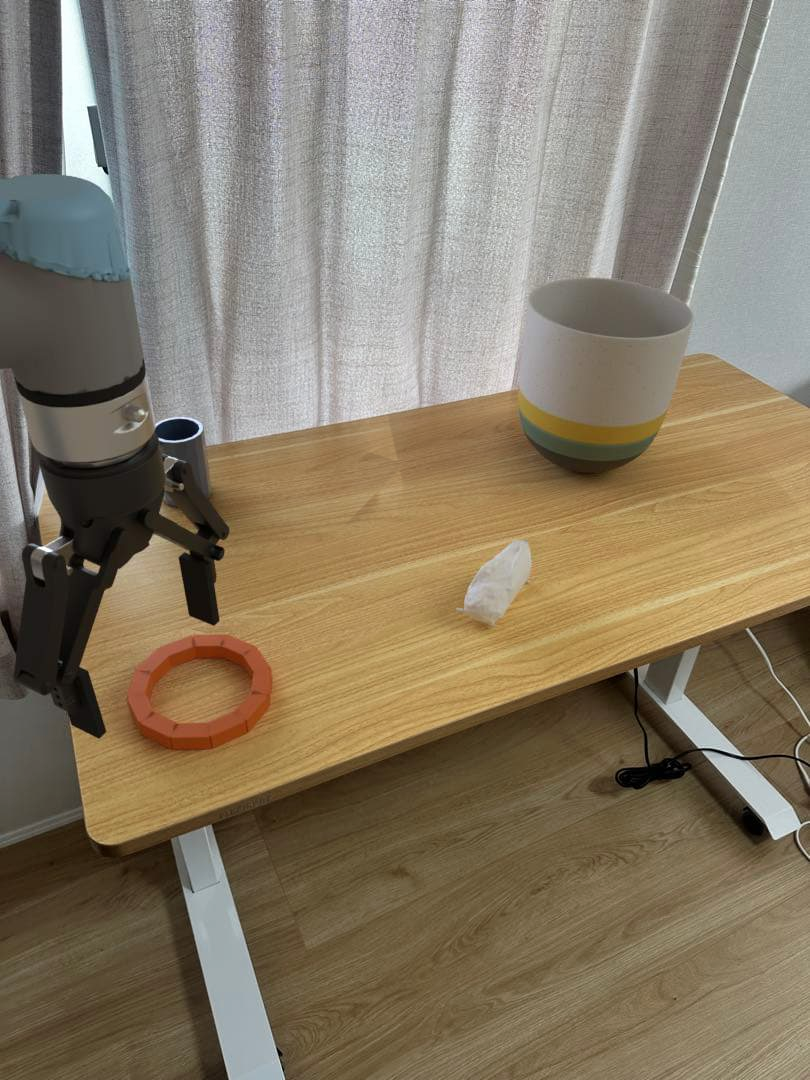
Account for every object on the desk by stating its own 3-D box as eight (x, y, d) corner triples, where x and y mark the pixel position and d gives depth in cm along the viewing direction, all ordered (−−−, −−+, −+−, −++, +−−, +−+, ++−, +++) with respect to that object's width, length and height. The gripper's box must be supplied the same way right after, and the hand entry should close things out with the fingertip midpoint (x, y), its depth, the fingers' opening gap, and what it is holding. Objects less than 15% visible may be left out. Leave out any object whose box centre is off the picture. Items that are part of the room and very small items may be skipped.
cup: (150, 498, 98) (138, 433, 92) (183, 475, 102) (173, 412, 97) (190, 513, 96) (180, 447, 90) (221, 488, 100) (213, 425, 95)
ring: (101, 715, 71) (98, 703, 70) (191, 630, 80) (189, 618, 79) (215, 771, 67) (213, 759, 66) (297, 674, 76) (296, 662, 75)
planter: (676, 495, 103) (722, 337, 90) (527, 502, 100) (553, 340, 87) (624, 421, 118) (657, 276, 105) (494, 425, 116) (511, 277, 103)
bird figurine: (482, 578, 90) (450, 614, 82) (504, 527, 87) (473, 559, 78) (521, 599, 89) (493, 637, 80) (545, 548, 86) (518, 582, 77)
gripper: (-23, 565, 42) (69, 808, 54) (258, 377, 59) (277, 593, 72) (-120, 523, 44) (-10, 764, 57) (177, 355, 62) (210, 568, 75)
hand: (151, 669), depth 65 cm, fingers open, 13 cm apart
